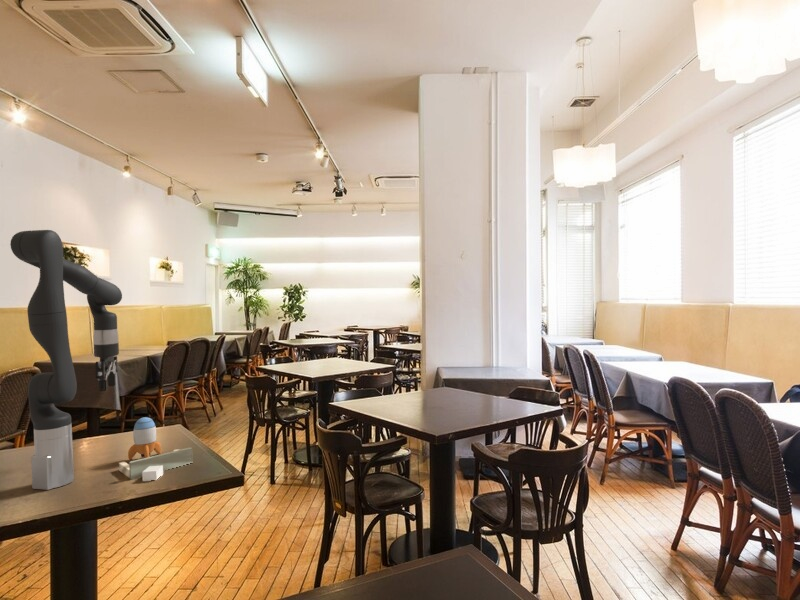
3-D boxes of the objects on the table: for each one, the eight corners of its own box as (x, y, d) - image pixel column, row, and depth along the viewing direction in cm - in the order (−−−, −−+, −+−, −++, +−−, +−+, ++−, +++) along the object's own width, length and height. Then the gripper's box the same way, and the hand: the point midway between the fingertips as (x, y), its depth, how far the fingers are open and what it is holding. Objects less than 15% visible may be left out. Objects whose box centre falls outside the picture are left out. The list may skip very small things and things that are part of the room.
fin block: (156, 481, 144) (156, 470, 144) (142, 482, 143) (142, 471, 143) (163, 475, 149) (162, 465, 149) (149, 476, 148) (149, 466, 148)
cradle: (118, 470, 154) (118, 454, 154) (177, 455, 167) (177, 441, 167) (131, 479, 145) (130, 462, 145) (192, 463, 158) (192, 448, 158)
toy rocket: (154, 465, 161) (141, 423, 159) (123, 472, 161) (109, 430, 159) (168, 451, 171) (156, 411, 169) (139, 457, 171) (127, 418, 169)
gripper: (111, 344, 163) (112, 392, 164) (124, 339, 177) (125, 383, 178) (86, 345, 162) (87, 393, 162) (101, 340, 175) (103, 385, 176)
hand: (107, 388), depth 170 cm, fingers open, 8 cm apart
